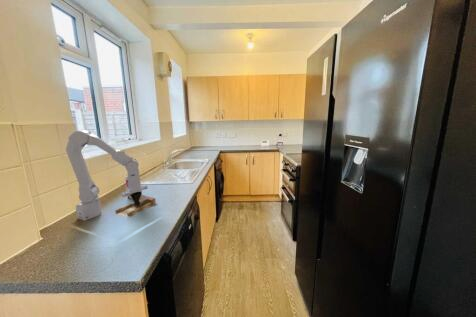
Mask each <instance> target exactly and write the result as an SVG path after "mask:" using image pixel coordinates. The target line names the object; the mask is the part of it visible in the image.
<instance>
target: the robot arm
mask: <svg viewBox="0 0 476 317" xmlns="http://www.w3.org/2000/svg"><path fill="white" fill-rule="evenodd" d="M85 146H96V147H97V148H99V149H101V150H103V151H105V153H107V154H108V155H111V159H112V160H114V161H115V162H116V163H118V164H119V165H121V166H122V167H124V168H125V169H126V172H127V175H126V176H128V184H129V190H128V191H127V190H126V191H124V192H122V193H121V198H127V196H128V195H130V196H131V197H132V198H133V199H132V200H133V202H134V204H135V205H137V206H138V205H139V199H140V196H141V194H143V193H142V191H145V190H147V189H148V185H147V184H143V185H141V184H140V183H141V178H140V170H139V161H138V160H137V159H136V158H134V157H133V156H129V155H128V154H127V153H126V151H124V150H120V149H118V150H117V149H115V148H114V147H113V146H111V145H109V144H108V143H107V142H106V141H105V140H103V139H101V137H100V136H97V135H96V134H94V133H92V132H91V131H89V130H86V129H84V130H76V131H74V132H72V133H71V134H70V135H69V136H68V142H67V144H66V148H65V151H66V154H67V156H68V159H69V162H70V164H71V167H72V170H73V172H74V175H75V177H76V180H77V182H78V192H79V194H78V198H79V201H81V202H80V203H78V204H76V206H75V210H76V217H77V219H78V220H81V221H85V222H86V221H87V220H90V219H92V218H96V217H98V216H101V215H102V206H101V201H100V197H99V194H100V193H99V192H100V189H99V187H98V186H97V185H96V184H95V182H94V181H93V180H92V178H91V175H90V171H89V169H88V166H87V164H86V161H85V158H84V155H83V153H82V150H83V149H84V148H85ZM140 191H141V192H140Z"/></svg>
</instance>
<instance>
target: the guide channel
mask: <svg viewBox="0 0 476 317" xmlns="http://www.w3.org/2000/svg"><path fill="white" fill-rule="evenodd" d="M141 197H144V198H149V203H147V204H145V205H143V206H141V207H137V206H134V201H132V202H131V203H128V204H126V205H123V206H121V207H119V208H116V209H115V210H114V212H112V214H114V215H119V216H122V217H126V218H131V217H133V216H135V215H137V214H139V213H141V212H143V211H146V210H148V209H149V208H152V207H153V206H155V205H157V204H158V203H157V202H156V198H155V197H151V196H150V197H149V196H145V195H142V196H141Z"/></svg>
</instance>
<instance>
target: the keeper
mask: <svg viewBox="0 0 476 317" xmlns="http://www.w3.org/2000/svg"><path fill="white" fill-rule="evenodd" d="M147 203H149V198H144V197H140V199H139V205H138V206H137V205H135V204H134V206H137V207H141V206H143V205H145V204H147Z"/></svg>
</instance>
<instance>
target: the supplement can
mask: <svg viewBox="0 0 476 317" xmlns="http://www.w3.org/2000/svg"><path fill="white" fill-rule="evenodd" d="M124 181H125V189H126V191H128V190H129V184H128V176H127V175H125V177H124ZM140 184H141V182H140ZM140 192H142V191H140ZM142 194H143V193H142ZM142 194H141V196H143V195H142ZM141 196H140V197H141ZM126 198H127V199H131V200H133V198H132V197H131V196H130V195H128V196H126Z"/></svg>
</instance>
